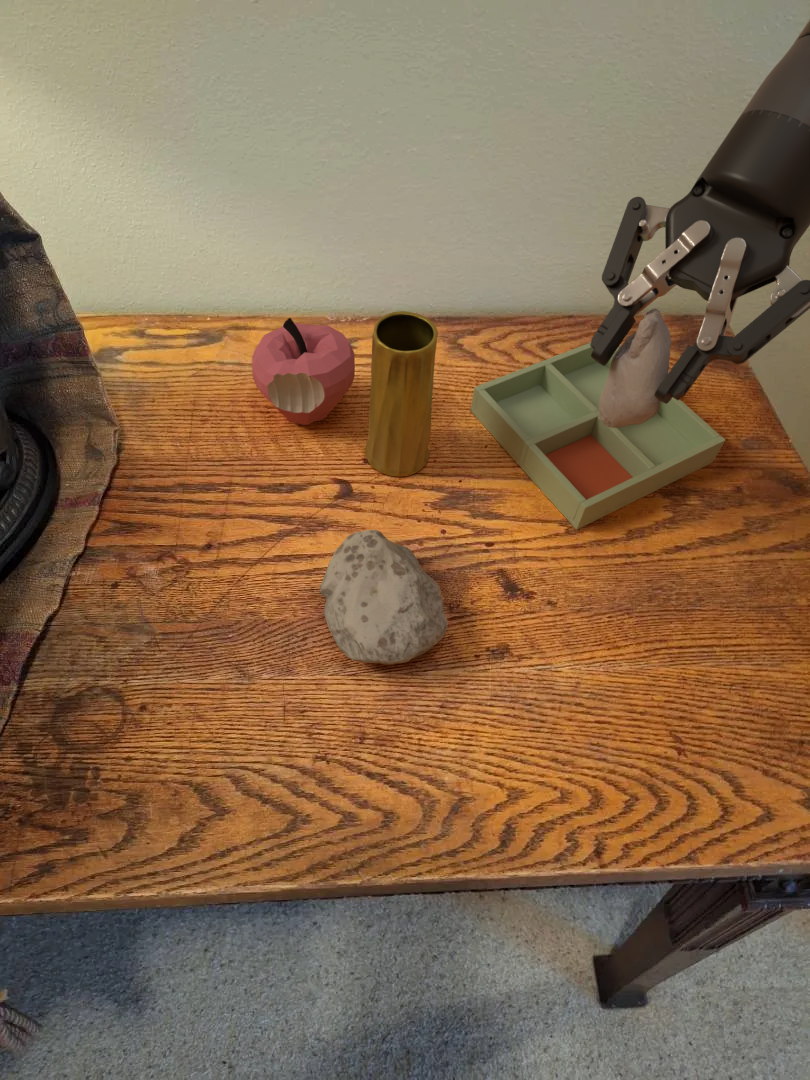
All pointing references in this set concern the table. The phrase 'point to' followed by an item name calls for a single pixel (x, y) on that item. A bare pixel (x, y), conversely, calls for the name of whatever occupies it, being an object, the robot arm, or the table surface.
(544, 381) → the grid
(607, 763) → the table surface
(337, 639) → the decorative stone
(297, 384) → the apple
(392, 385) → the vase
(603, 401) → the grey brown rock
